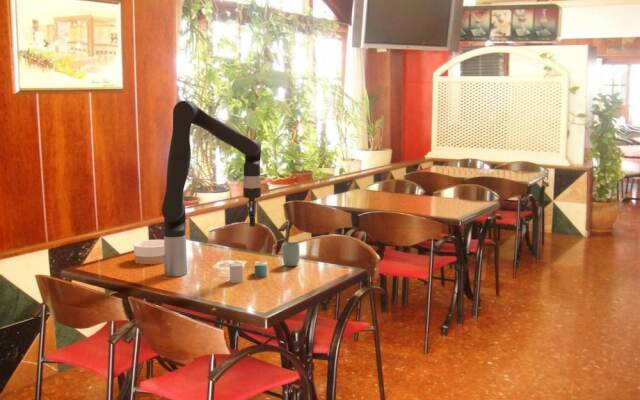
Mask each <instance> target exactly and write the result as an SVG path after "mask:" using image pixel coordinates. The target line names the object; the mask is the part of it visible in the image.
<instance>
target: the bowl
mask: <svg viewBox="0 0 640 400" xmlns="http://www.w3.org/2000/svg"><path fill="white" fill-rule="evenodd" d="M164 253H165V249H164V239H146V240H140V241H137V242H135V243H134V244H133V254H134V263H135V262H137V263H141V264H140V265H142V264H154V265H158V264H157V263H162V264H164ZM137 263H136V264H137Z"/></svg>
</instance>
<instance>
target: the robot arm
mask: <svg viewBox="0 0 640 400" xmlns="http://www.w3.org/2000/svg"><path fill="white" fill-rule="evenodd" d="M192 125H195V126H198V127H200V128H202V129H203V130H206V132H208V133H210V134H211V135H212V136H214V137H215V138H216V139H218V140H219V141H222V142H223V143H225V144H227V145H228V146H231V147H233V148H234V149H235V150H237V151H239V152H240V153H241V154H243V155H244V163H243V180H242V186H243V187H242V193H243V194H242V196H243V198H245V199H248V201H247V203H246V204H247V206H246V207H247V213H248V217H249V227H253V228H254V227H255V226H256V216H257V215H256V214H257V207H258V201H257V200H256V199H260V198H261V197H262V180H261V158H262V157H261V156H262V145H261V143H260V142H259V140H258V139H255V138H249V137H247V136H246V135H244V134H243V133H241V132H240V131H239V130H238V129H236V128H234V127H232V126H230V125H228V124H226V123H224V122H222V121H220V120H218V119H216V118H215V117H213V116H211V115H209V114H208V113H207V112H205V111H204V110H202V109H201V108H200V107H199V106H197V104H196V103H194V102H193V101H190V100H180V101H178V102H176V104H175V105H174V106H173V111H172V134H171V139H170V146H169V150H168V151H169V153H168V156H167V157H168V159H167V167H166V169H167V170H166V184H165V185H166V187H165V193H164V197H163V201H162V205H161V215H162V217H163V219H164V220H163V240H164V249H165V253H164V263H163V265H164V276H165V277H182V276H183V277H184V276H186V275H187V274H188V264H187V263H188V261H187V257H188V256H187V243H186V242H187V241H186V240H187V237H186V228H187V223H186V220H187V219H186V218H187V217H186V205H185V203H184V191H185V186H186V182H187V179H188V175H189V172H190V166H191V157H192V149H191V148H192V147H191V142H190V141H191V140H190V137H191V136H190V134H191V133H190V132H191V128H192Z"/></svg>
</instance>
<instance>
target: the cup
mask: <svg viewBox="0 0 640 400" xmlns="http://www.w3.org/2000/svg"><path fill="white" fill-rule="evenodd" d="M281 256H282V263H283V264H284V266H287V267H295V266H298V264H299V262H300V243H299V242H293V241H289V242H287V241H286V242H284V243H282V244H281Z"/></svg>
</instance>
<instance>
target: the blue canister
mask: <svg viewBox="0 0 640 400" xmlns="http://www.w3.org/2000/svg"><path fill="white" fill-rule="evenodd" d="M267 277H268V260H260V261H259V260H258V261H257V260H256V261H254V278H267Z"/></svg>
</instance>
